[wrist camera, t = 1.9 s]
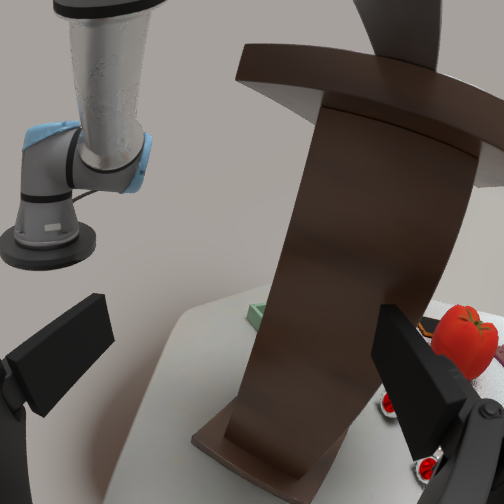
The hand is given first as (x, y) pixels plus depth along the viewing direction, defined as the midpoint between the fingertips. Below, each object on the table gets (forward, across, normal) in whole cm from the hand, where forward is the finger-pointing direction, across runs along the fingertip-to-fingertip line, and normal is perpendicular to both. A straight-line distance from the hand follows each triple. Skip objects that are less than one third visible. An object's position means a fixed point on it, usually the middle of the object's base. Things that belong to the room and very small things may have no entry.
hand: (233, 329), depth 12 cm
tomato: (+24, +34, -23) cm, 48 cm away
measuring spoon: (-2, +7, +11) cm, 13 cm away
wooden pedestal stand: (+7, +2, -17) cm, 19 cm away
